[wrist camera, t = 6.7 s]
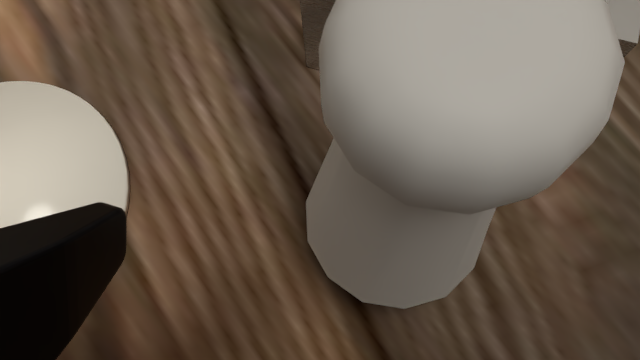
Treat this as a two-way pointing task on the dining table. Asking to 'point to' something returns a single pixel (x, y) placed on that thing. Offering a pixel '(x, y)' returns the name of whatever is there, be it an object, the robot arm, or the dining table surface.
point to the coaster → (55, 154)
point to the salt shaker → (447, 130)
